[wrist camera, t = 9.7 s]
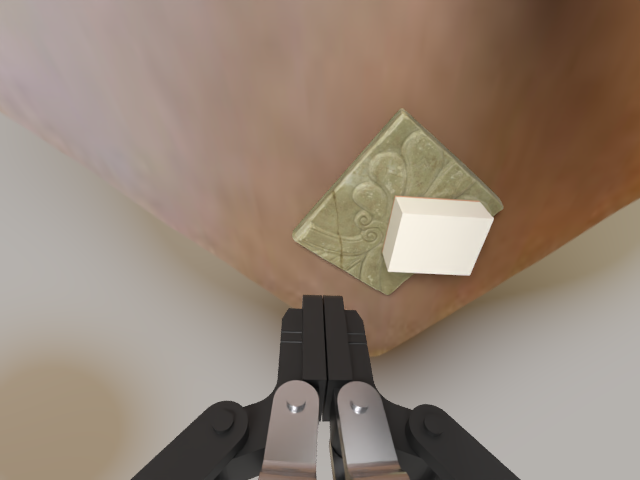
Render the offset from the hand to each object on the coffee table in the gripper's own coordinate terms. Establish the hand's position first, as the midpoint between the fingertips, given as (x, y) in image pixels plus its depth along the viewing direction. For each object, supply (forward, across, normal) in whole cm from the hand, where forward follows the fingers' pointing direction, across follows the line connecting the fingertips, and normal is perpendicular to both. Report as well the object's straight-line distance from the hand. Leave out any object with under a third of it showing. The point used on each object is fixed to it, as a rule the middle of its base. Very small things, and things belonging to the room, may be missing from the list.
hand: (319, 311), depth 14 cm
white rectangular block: (+24, -10, +12) cm, 29 cm away
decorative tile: (+30, -12, +12) cm, 34 cm away
